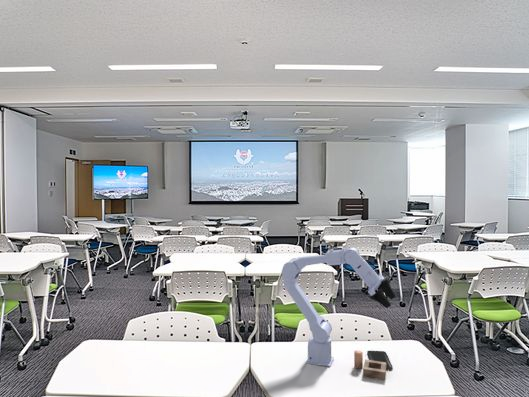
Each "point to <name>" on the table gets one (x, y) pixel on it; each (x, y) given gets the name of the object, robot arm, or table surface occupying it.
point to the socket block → (374, 369)
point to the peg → (358, 359)
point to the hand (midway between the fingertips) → (391, 302)
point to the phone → (380, 358)
